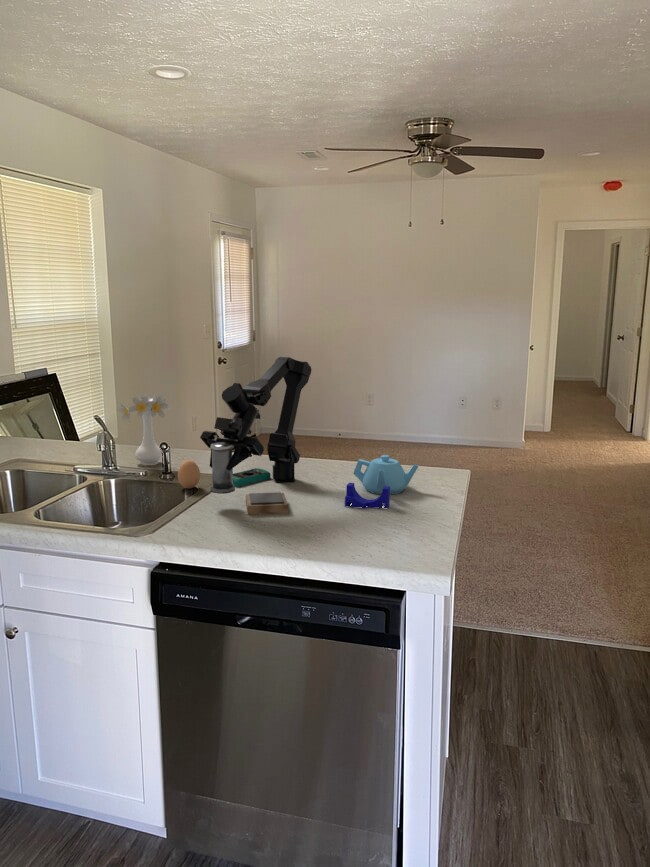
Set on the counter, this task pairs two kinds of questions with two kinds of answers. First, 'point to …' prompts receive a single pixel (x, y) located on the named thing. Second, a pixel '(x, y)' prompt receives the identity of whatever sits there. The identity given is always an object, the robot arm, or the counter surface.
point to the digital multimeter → (250, 476)
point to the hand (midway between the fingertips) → (219, 468)
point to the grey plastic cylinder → (222, 468)
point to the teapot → (384, 474)
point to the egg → (188, 474)
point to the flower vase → (146, 425)
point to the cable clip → (362, 502)
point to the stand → (266, 503)
